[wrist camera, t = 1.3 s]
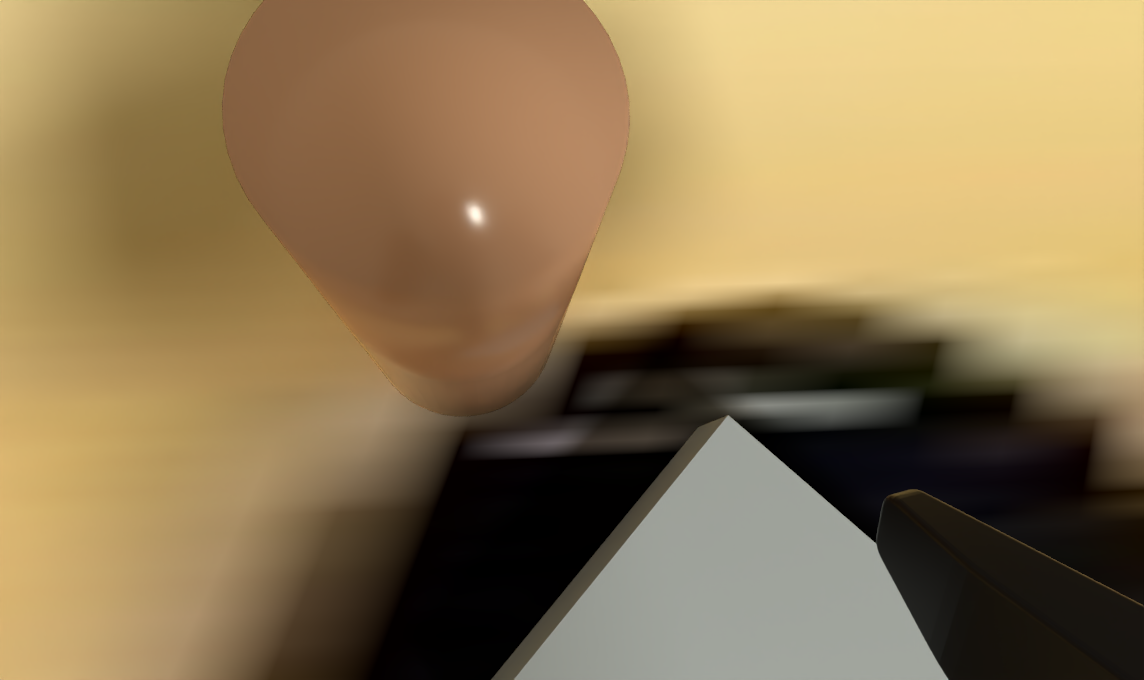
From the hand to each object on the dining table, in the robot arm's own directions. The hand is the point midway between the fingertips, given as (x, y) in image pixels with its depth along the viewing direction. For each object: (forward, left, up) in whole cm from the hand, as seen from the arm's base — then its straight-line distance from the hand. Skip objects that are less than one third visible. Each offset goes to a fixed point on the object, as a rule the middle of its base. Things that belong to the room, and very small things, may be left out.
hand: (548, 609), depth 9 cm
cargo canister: (+4, +6, -13) cm, 15 cm away
